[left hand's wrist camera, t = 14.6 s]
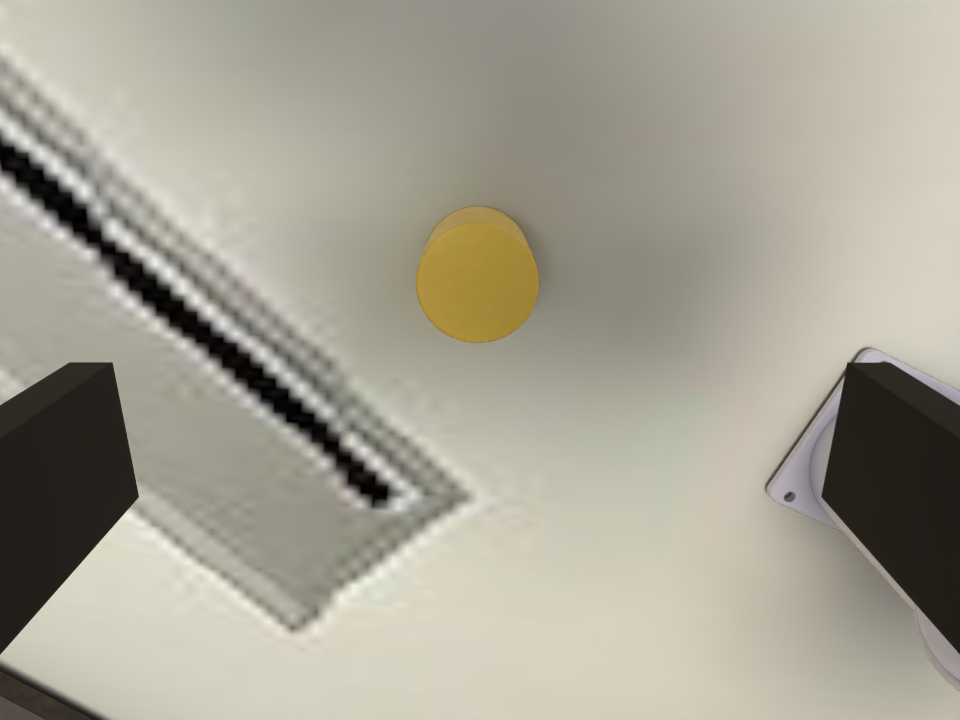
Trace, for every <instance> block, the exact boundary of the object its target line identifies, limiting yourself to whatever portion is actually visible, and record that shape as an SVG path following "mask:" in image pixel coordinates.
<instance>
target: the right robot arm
mask: <svg viewBox="0 0 960 720" xmlns="http://www.w3.org/2000/svg"><path fill="white" fill-rule="evenodd" d="M882 361H884V363H892V364H894V365H895V366H897V367H898V368H900V369H902V370H903V371H905V372H907V373H908V374H910V375H911V376H913V377H915V378H916V379H918V380H920V381H921V382H923V383H924V384H926V385H928V386H929V387H931V388H932V389H934V390H936V391H937V392H939V393H941V394H942V395H944V396H945V397H947V398H949V399H950V400H952V401H954V402H955V403H957V404H958V405H960V391H958V390H956V389H954V388H952V387H950V386H948V385H946V384H944V383H942V382H940V381H938V380H936V379H934V378H932V377H930V376H928V375H926V374H924V373H922V372H920V371H918V370H916V369H914V368H912V367H910V366H908V365H906V364H904V363H902V362H900V361H898V360H896V359H894V358H892V357H890V356H888V355H886V354H884V353H882V352H880V351H878V350H876V349H872V348H871V349H866V350H864V351H863V352H862V353H861V354H860V355H859V356H858V357H857V359H856V360H855V362H854V363H880V362H882ZM844 378H845V376H844V377H843V379H842V380H841V382H840V383H839V385H838V386H837V387H836V389H835V390H834V392H833V393H832V395H831V396H830V397H829V399H828V400H827V402H826V403H825V405H824V406H823V407H822V409H821V410H820V412H819V413H818V415H817V416H816V417H815V419H814V420H813V422H812V423H811V425H810V426H809V427H808V429H807V430H806V432H805V433H804V435H803V436H802V438H801V439H800V440H799V442H798V443H797V445H796V446H795V448H794V449H793V450H792V452H791V453H790V455H789V456H788V458H787V459H786V460H785V462H784V463H783V465H782V466H781V468H780V469H779V470H778V472H777V473H776V475H775V476H774V478H773V479H772V480H771V482H770V483H769V485H768V487H767V494H768V496H769V497H770V498H771V499H772V500H773V501H775V502H777V503H780V504H782V505H784V506H786V507H788V508H791V509H793V510H795V511H797V512H800V513H802V514H804V515H806V516H809V517H811V518H813V519H815V520H817V521H820V522H822V523H824V524H826V525H829V526H831V527H833V528H835V529H837V530H840V531H842V532H844V533H845V534H846V535H847V537H848V538H849V539H850V540H851V541H852V542H853V543H854V544H855V546H856V547H857V548H858V549H859V550H860V551H861V552H862V553H863V555H864V556H865V557H866V558H867V559H868V560H869V561H870V562H871V564H872V565H873V566H874V567H875V568H876V569H877V570H878V571H879V573H880V574H881V575H882V576H883V577H884V578H885V579H886V581H887V582H888V583H889V584H890V585H891V586H892V587H893V588H894V590H895V591H896V592H897V593H898V594H899V595H900V596H901V597H902V599H903V600H904V601H905V602H906V603H907V604H908V605H909V606H910V608H911V609H912V610H913V611H914V621H915V625H916V629H917V634H918V637H919V639H920V642H921V644H922V647H923V649H924V651H925V653H926V655H927V656H928V658H929V660H930V661H931V663H932V664H933V666H934V667H935V668H936V670H937V671H938V672H939V673H940V674H941V675H942V677H943V678H944V679H945V680H946V681H947V682H948V683H949V684H951V685H952V686H953V687H954V688H955V689H957V690H958V691H959V692H960V654H959V653H958V652H957V651H956V650H955V649H954V647H953V646H952V645H951V644H950V643H949V642H948V641H947V639H946V638H945V637H944V636H943V635H942V634H941V633H940V632H939V630H938V629H937V628H936V627H935V626H934V625H933V624H932V622H931V621H930V620H929V619H928V618H927V617H926V616H925V614H924V613H923V612H922V611H921V610H920V609H919V608H918V607H917V605H916V604H915V603H914V602H913V601H912V600H911V599H910V597H909V596H908V595H907V594H906V593H905V592H904V591H903V589H902V588H901V587H900V586H899V585H898V584H897V583H896V582H895V580H894V579H893V578H892V577H891V576H890V575H889V574H888V572H887V571H886V570H885V569H884V568H883V567H882V566H881V564H880V563H879V562H878V561H877V560H876V559H875V558H874V556H873V555H872V554H871V553H870V552H869V551H868V550H867V549H866V547H865V546H864V545H863V544H862V543H861V542H860V541H859V539H858V538H857V537H856V536H855V535H854V534H853V533H852V531H851V530H850V529H849V528H848V527H847V526H846V525H845V524H844V522H843V521H842V520H841V519H840V518H839V517H838V516H837V514H836V513H835V512H834V511H833V510H832V509H831V508H830V506H829V505H828V504H827V503H826V502H825V501H824V500H823V499H822V497H821V495H822V490H823V485H824V479H825V474H826V469H827V464H828V459H829V454H830V449H831V444H832V439H833V434H834V429H835V424H836V419H837V413H838V408H839V403H840V398H841V393H842V388H843V383H844ZM788 492H792V494H791V495H790V496H789V497H786V498H785V497H784V496H785V494H786V493H788Z"/></svg>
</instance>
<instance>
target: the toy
mask: <svg viewBox="0 0 960 720" xmlns="http://www.w3.org/2000/svg"><path fill="white" fill-rule="evenodd" d="M0 720H93V719H91V718H89V717H87V716H85V715H83V714H81V713H79V712H78V711H76V710H74V709H72V708H70V707H68V706H66V705H64V704H62V703H60V702H58V701H57V700H55V699H53V698H51V697H49V696H47V695H45V694H43V693H41V692H39V691H37V690H35V689H34V688H32V687H30V686H28V685H26V684H24V683H22V682H20V681H18V680H16V679H14V678H13V677H11V676H9V675H7V674H5V673H3V672H1V671H0Z"/></svg>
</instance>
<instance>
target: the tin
mask: <svg viewBox="0 0 960 720" xmlns="http://www.w3.org/2000/svg"><path fill="white" fill-rule="evenodd" d="M538 290H539V275H538V270H537V265H536V263H535V260H534V257H533V255H532V253H531V250H530V248H529V245H528V243H527V240H526V238H525V236H524V234H523V232H522V230H521V229H520V228H519V226H518V225H517V224H516V223H515V222H514V221H513V220H512V219H511V218H510V217H508V216H507V215H505V214H504V213H502V212H500V211H498V210H495V209H492V208H488V207H481V206H474V207H467V208H463V209H460V210H457V211H455V212H453V213H451V214H450V215H448V216H447V217H445V218H444V219H443V220H442V221H441V222H440V223H439V224H438V225H437V226H436V227H435V229H434V230H433V232H432V234H431V236H430V238H429V240H428V242H427V245H426V247H425V250H424V252H423V255H422V257H421V260H420V262H419V265H418V269H417V274H416V291H417V296H418V300H419V303H420V305H421V307H422V310H423V312H424V313H425V315H426V316H427V318H428V319H429V320H430V321H431V323H432V324H433V325H434V326H435V327H437V328H438V329H439V330H440V331H442V332H443V333H444V334H446V335H448V336H450V337H452V338H455V339H457V340H461V341H465V342H471V343H484V342H490V341H494V340H498V339H500V338H503V337H505V336H507V335H509V334H510V333H512V332H513V331H515V330H516V329H517V328H518V327H520V326H521V325H522V324H523V323H524V321H525V320H526V319H527V318H528V316H529V315H530V313H531V311H532V310H533V307H534V305H535V303H536V299H537V296H538Z"/></svg>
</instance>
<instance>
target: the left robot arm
mask: <svg viewBox="0 0 960 720" xmlns="http://www.w3.org/2000/svg"><path fill="white" fill-rule="evenodd" d="M138 497H139V495H138V490H137V485H136V479H135V474H134V469H133V464H132V459H131V454H130V449H129V444H128V439H127V434H126V429H125V424H124V419H123V413H122V408H121V403H120V398H119V393H118V388H117V383H116V378H115V373H114V368H113V363H68V364H66V365H65V366H63V367H62V368H60V369H58V370H57V371H55V372H53V373H52V374H50V375H49V376H47V377H45V378H44V379H42V380H40V381H39V382H37V383H36V384H34V385H32V386H31V387H29V388H28V389H26V390H24V391H23V392H21V393H19V394H18V395H16V396H15V397H13V398H11V399H10V400H8V401H6V402H5V403H3V404H2V405H0V654H1V653H2V652H3V651H4V650H5V649H6V647H7V646H8V645H9V644H10V643H11V642H12V641H13V639H14V638H15V637H16V636H17V635H18V634H19V633H20V632H21V630H22V629H23V628H24V627H25V626H26V625H27V624H28V622H29V621H30V620H31V619H32V618H33V617H34V616H35V614H36V613H37V612H38V611H39V610H40V609H41V608H42V607H43V605H44V604H45V603H46V602H47V601H48V600H49V599H50V597H51V596H52V595H53V594H54V593H55V592H56V591H57V589H58V588H59V587H60V586H61V585H62V584H63V583H64V582H65V580H66V579H67V578H68V577H69V576H70V575H71V574H72V572H73V571H74V570H75V569H76V568H77V567H78V566H79V564H80V563H81V562H82V561H83V560H84V559H85V558H86V556H87V555H88V554H89V553H90V552H91V551H92V550H93V549H94V547H95V546H96V545H97V544H98V543H99V542H100V541H101V539H102V538H103V537H104V536H105V535H106V534H107V533H108V531H109V530H110V529H111V528H112V527H113V526H114V525H115V524H116V522H117V521H118V520H119V519H120V518H121V517H122V516H123V514H124V513H125V512H126V511H127V510H128V509H129V508H130V506H131V505H132V504H133V503H134V502H135V501H136V500H137V499H138ZM821 497H822V499H823V500H824V501H825V502H826V503H827V504H828V505H829V506H830V508H831V509H832V510H833V511H834V512H835V513H836V514H837V516H838V517H839V518H840V519H841V520H842V521H843V522H844V524H845V525H846V526H847V527H848V528H849V529H850V530H851V531H852V533H853V534H854V535H855V536H856V537H857V538H858V539H859V541H860V542H861V543H862V544H863V545H864V546H865V547H866V549H867V550H868V551H869V552H870V553H871V554H872V555H873V556H874V558H875V559H876V560H877V561H878V562H879V563H880V564H881V566H882V567H883V568H884V569H885V570H886V571H887V572H888V574H889V575H890V576H891V577H892V578H893V579H894V580H895V582H896V583H897V584H898V585H899V586H900V587H901V588H902V589H903V591H904V592H905V593H906V594H907V595H908V596H909V597H910V599H911V600H912V601H913V602H914V603H915V604H916V605H917V607H918V608H919V609H920V610H921V611H922V612H923V613H924V614H925V616H926V617H927V618H928V619H929V620H930V621H931V622H932V624H933V625H934V626H935V627H936V628H937V629H938V630H939V632H940V633H941V634H942V635H943V636H944V637H945V638H946V639H947V641H948V642H949V643H950V644H951V645H952V646H953V647H954V649H955V650H956V651H957V652H958V653H959V654H960V405H958V404H957V403H955V402H954V401H952V400H950V399H949V398H947V397H945V396H944V395H942V394H941V393H939V392H937V391H936V390H934V389H932V388H931V387H929V386H928V385H926V384H924V383H923V382H921V381H920V380H918V379H916V378H915V377H913V376H911V375H910V374H908V373H907V372H905V371H903V370H902V369H900V368H898V367H897V366H895V365H894V364H892V363H847V368H846V373H845V378H844V383H843V388H842V393H841V398H840V403H839V408H838V413H837V419H836V424H835V429H834V434H833V439H832V444H831V449H830V454H829V459H828V464H827V469H826V474H825V479H824V485H823V490H822V495H821Z"/></svg>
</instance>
